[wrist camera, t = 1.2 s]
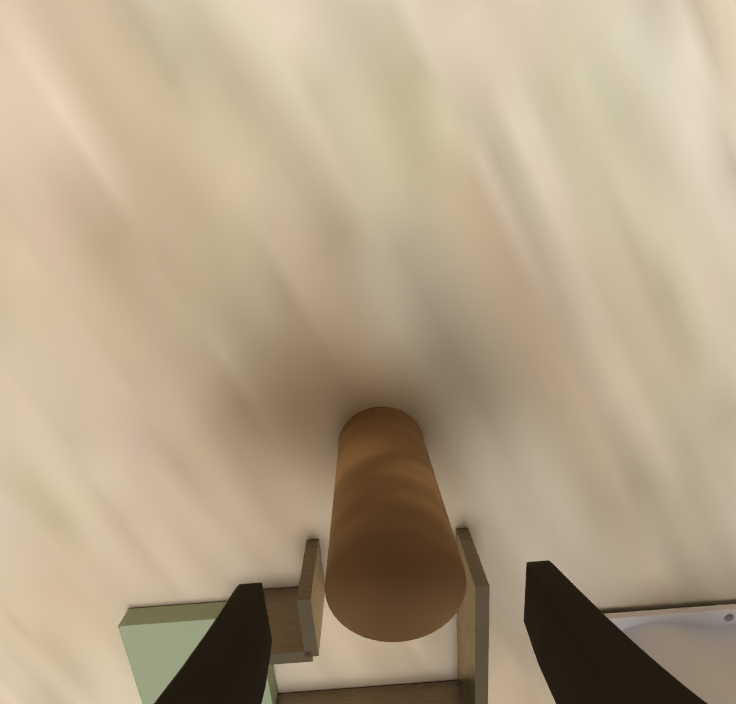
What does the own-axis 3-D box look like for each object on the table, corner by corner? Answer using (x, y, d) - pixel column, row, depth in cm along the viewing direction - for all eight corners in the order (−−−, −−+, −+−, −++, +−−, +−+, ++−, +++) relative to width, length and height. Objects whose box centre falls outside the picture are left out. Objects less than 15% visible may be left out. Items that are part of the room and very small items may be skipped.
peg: (421, 403, 18) (466, 522, 11) (424, 479, 20) (467, 636, 12) (335, 410, 18) (317, 534, 11) (342, 485, 20) (332, 647, 12)
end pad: (260, 598, 21) (255, 616, 20) (277, 693, 23) (274, 713, 22) (128, 608, 21) (118, 626, 20) (157, 702, 23) (148, 723, 22)
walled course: (468, 528, 20) (489, 585, 17) (468, 687, 23) (486, 762, 20) (230, 546, 20) (204, 607, 17) (262, 702, 23) (245, 780, 20)
